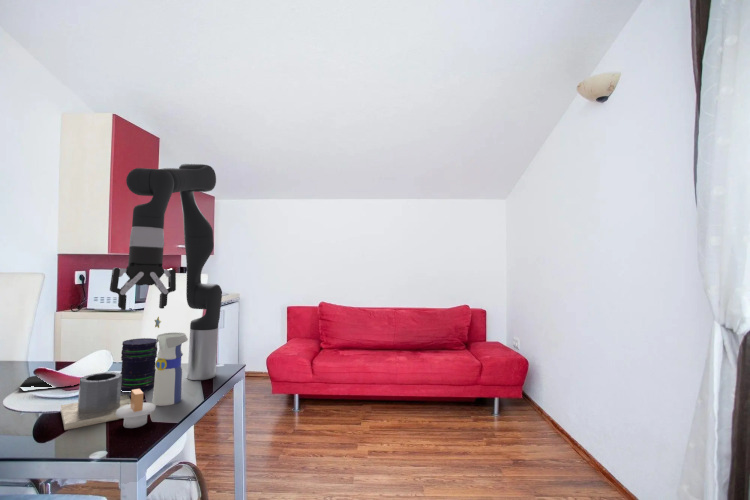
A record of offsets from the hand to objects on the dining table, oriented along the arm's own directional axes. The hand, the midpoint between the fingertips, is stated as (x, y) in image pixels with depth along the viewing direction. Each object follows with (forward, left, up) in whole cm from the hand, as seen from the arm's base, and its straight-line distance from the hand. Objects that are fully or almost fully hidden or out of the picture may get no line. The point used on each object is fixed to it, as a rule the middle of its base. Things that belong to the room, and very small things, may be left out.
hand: (142, 309), depth 97 cm
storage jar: (-30, +6, -29) cm, 42 cm away
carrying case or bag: (-49, -14, -29) cm, 59 cm away
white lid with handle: (0, 0, -29) cm, 29 cm away
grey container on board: (-13, -6, -29) cm, 32 cm away
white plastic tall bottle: (-12, +10, -29) cm, 33 cm away
